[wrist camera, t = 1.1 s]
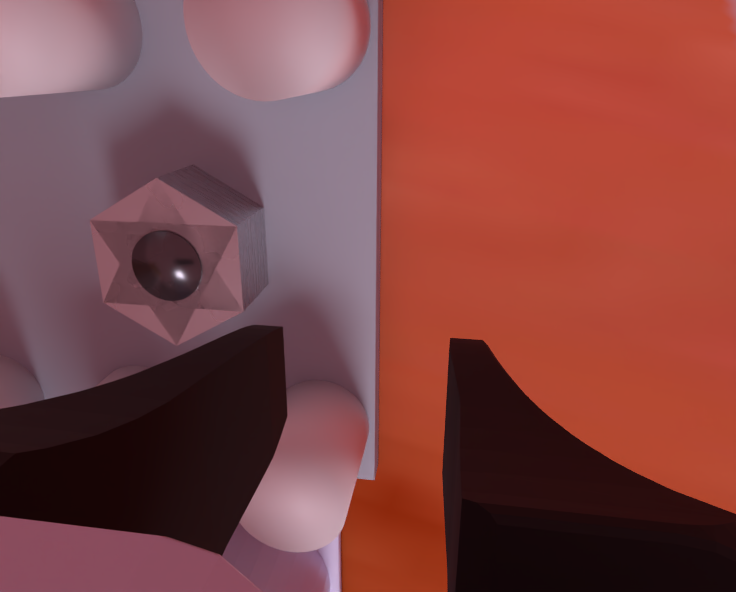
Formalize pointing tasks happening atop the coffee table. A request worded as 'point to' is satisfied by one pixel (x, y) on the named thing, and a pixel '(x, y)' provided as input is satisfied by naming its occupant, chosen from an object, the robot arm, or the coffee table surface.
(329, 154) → the spacer board
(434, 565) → the coffee table surface
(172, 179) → the hexagonal block with ball
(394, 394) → the coffee table surface
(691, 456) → the coffee table surface
